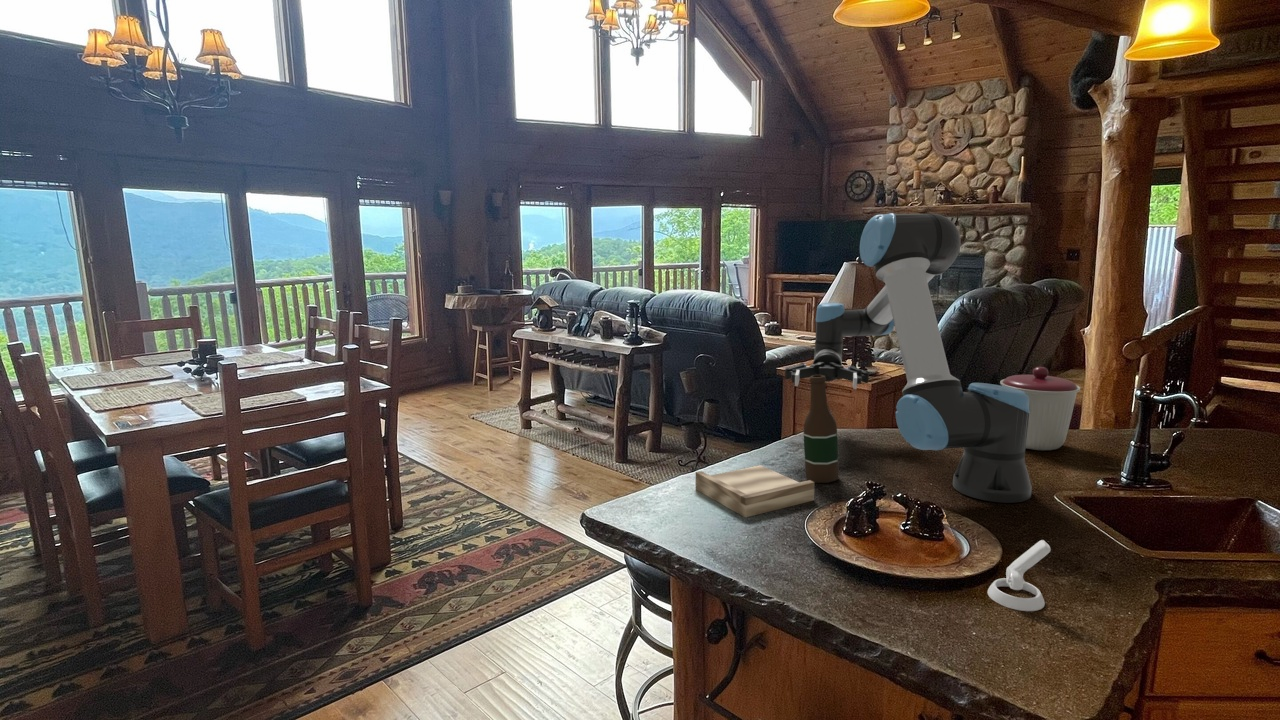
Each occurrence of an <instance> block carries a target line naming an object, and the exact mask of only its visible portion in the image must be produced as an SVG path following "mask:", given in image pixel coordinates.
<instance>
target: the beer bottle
mask: <svg viewBox="0 0 1280 720" xmlns="http://www.w3.org/2000/svg"><path fill="white" fill-rule="evenodd" d="M825 381H826V378H825V376H824V375H812V376H811V377H809V383H810V407H809V412H808V413H807V414H806V417H805V420H804V423H803V448H804V449H803V451H804V466H805V477H806V479H807V481H808V480H810V481H813V482H815V483H817V484H818V483H819V484H821V483H823V484H829V483H832V482H835V481H838V480H839V469H840V468H839V467H840V466H839V448H838V447H839V446H838V428H837V421H836V419H835V417H834V414H833V413H832V412H831V411H830V409H829V406H828V401H827V399H828V398H827V390H826V382H825Z"/></svg>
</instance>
